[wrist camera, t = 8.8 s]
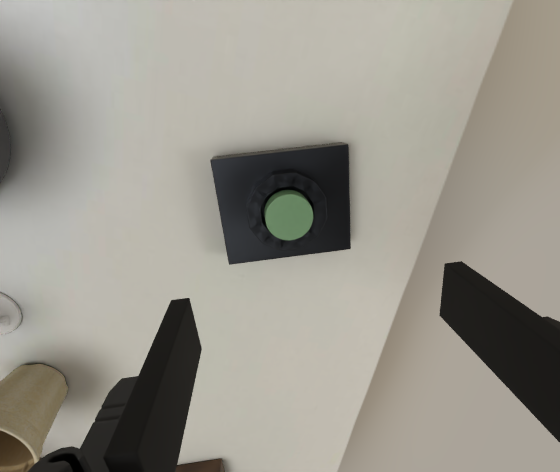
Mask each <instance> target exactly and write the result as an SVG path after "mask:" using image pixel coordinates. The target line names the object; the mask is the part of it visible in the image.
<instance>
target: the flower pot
mask: <svg viewBox="0 0 560 472" xmlns="http://www.w3.org/2000/svg"><path fill="white" fill-rule="evenodd" d="M67 392H68V386H67V385H66V381H65V378H64V376H63V375H62V374H61V373H60V372H59V371H57V370H56V369H54V368H52V367H49V366H47V365H43V364H35V365H22V366H20V367H18V368H16V369H15V370H13V371H12V372H11V373H10V374H9V375H8V376H6V377H5V378H4V379H3V380H2V381H1V382H0V472H27V471H28V470H29V469H30V468H31V467H32V466H33V465H34V464H35V463H36V462H38V461H39V457H40V455H41V453H42V445H43V443H44V441H45V439H46V436H47V434H48V432H49V430H50V428H51V426H52V423H53V421H54V419H55V417H56V415H57V413H58V411H59V409H60V406H61V404H62V402H63V400H64V398H65V396H66V394H67Z"/></svg>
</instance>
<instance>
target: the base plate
mask: <svg viewBox="0 0 560 472" xmlns="http://www.w3.org/2000/svg"><path fill="white" fill-rule="evenodd" d="M176 472H225V471H224V467H223V463H222V459H216V460H210V461H203V462H197V463H190V464H184V465H177V467H176Z"/></svg>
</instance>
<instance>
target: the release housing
mask: <svg viewBox="0 0 560 472" xmlns="http://www.w3.org/2000/svg"><path fill="white" fill-rule="evenodd" d="M211 166H212V171H213V177H214V183H215V188H216V194H217V199H218V205H219V211H220V216H221V222H222V227H223V233H224V238H225V244H226V250H227V255H228V261H229V264H237V263H245V262H253V261H260V260H268V259H276V258H284V257H291V256H299V255H307V254H315V253H322V252H330V251H338V250H346V249H351V243H350V195H349V147H348V144H345V143H342V142H340V143H331V144H322V145H313V146H305V147H296V148H287V149H278V150H270V151H261V152H252V153H243V154H234V155H226V156H217V157H213V158H212V159H211ZM282 190H294V191H297V192H299V193H300V194H302V195H303V196H304V197H305V198H306V199H307V201H308V202H309V204H310V206H311V208H312V211H313V222H312V225H311V227H310V229H309V230H308V232H307V233H306V234H304V235H303V236H302V237H300V238H298V239H295V240H282V239H279V238H277V237H275V236H274V235H273V234H272V233H271V232H270V231H269V230H268V228H267V225H266V221H265V213H264V212H265V206H266V203H267V201H268V200H269V199H270V197H271V196H273V195H274V194H275V193H277V192H279V191H282Z"/></svg>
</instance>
